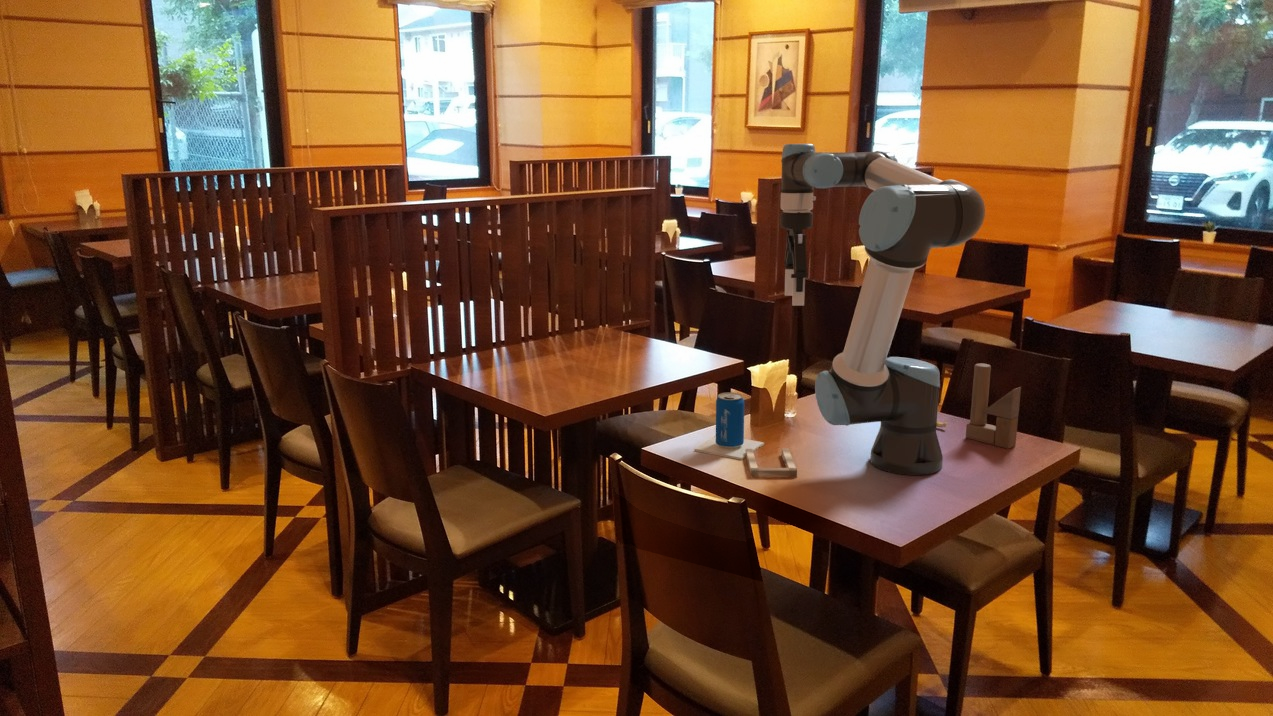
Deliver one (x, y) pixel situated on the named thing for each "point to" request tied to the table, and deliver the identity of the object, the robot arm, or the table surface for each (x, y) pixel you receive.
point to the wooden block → (992, 412)
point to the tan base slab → (772, 472)
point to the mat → (736, 453)
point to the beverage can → (730, 420)
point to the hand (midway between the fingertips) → (794, 300)
